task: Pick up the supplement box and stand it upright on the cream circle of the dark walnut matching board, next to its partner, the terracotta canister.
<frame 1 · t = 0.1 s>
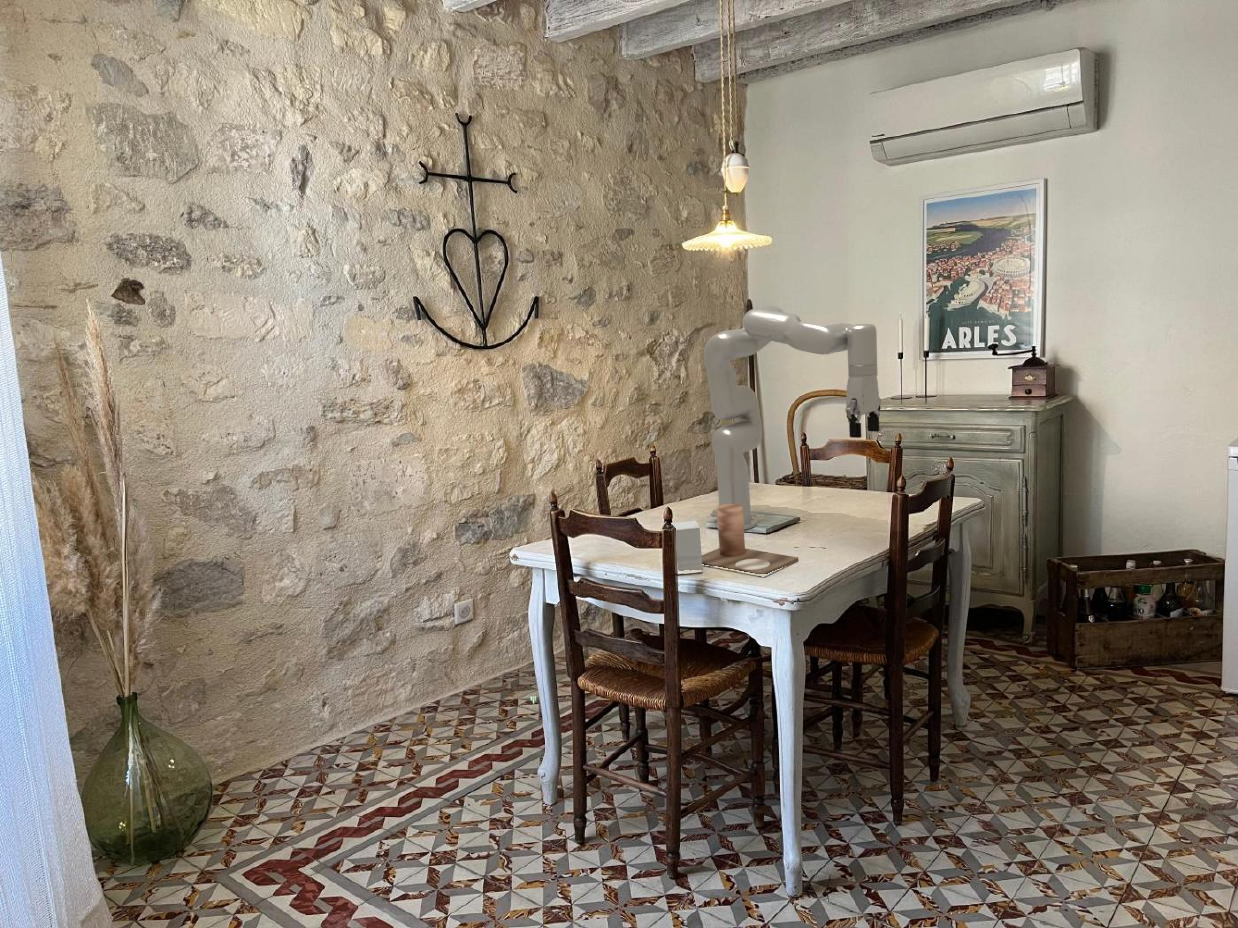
hand: (864, 434, 253), 31 cm above the table, tool pointing down, fingers open, 9 cm apart
supplement box: (687, 571, 250), on the table
matching board: (743, 562, 253), on the table
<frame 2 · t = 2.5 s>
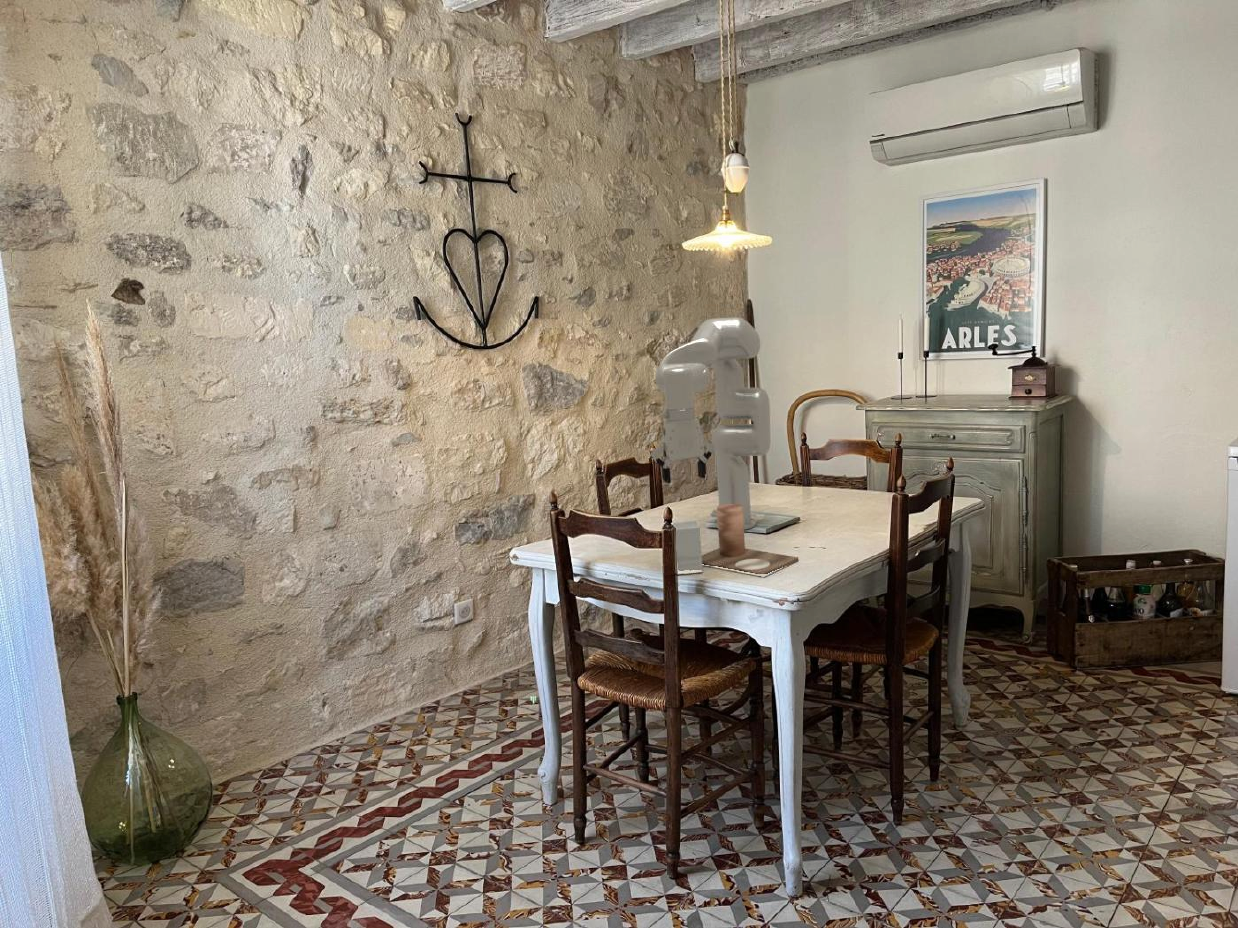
hand: (684, 479, 245), 25 cm above the table, tool pointing down, fingers open, 9 cm apart
nothing on the table moved.
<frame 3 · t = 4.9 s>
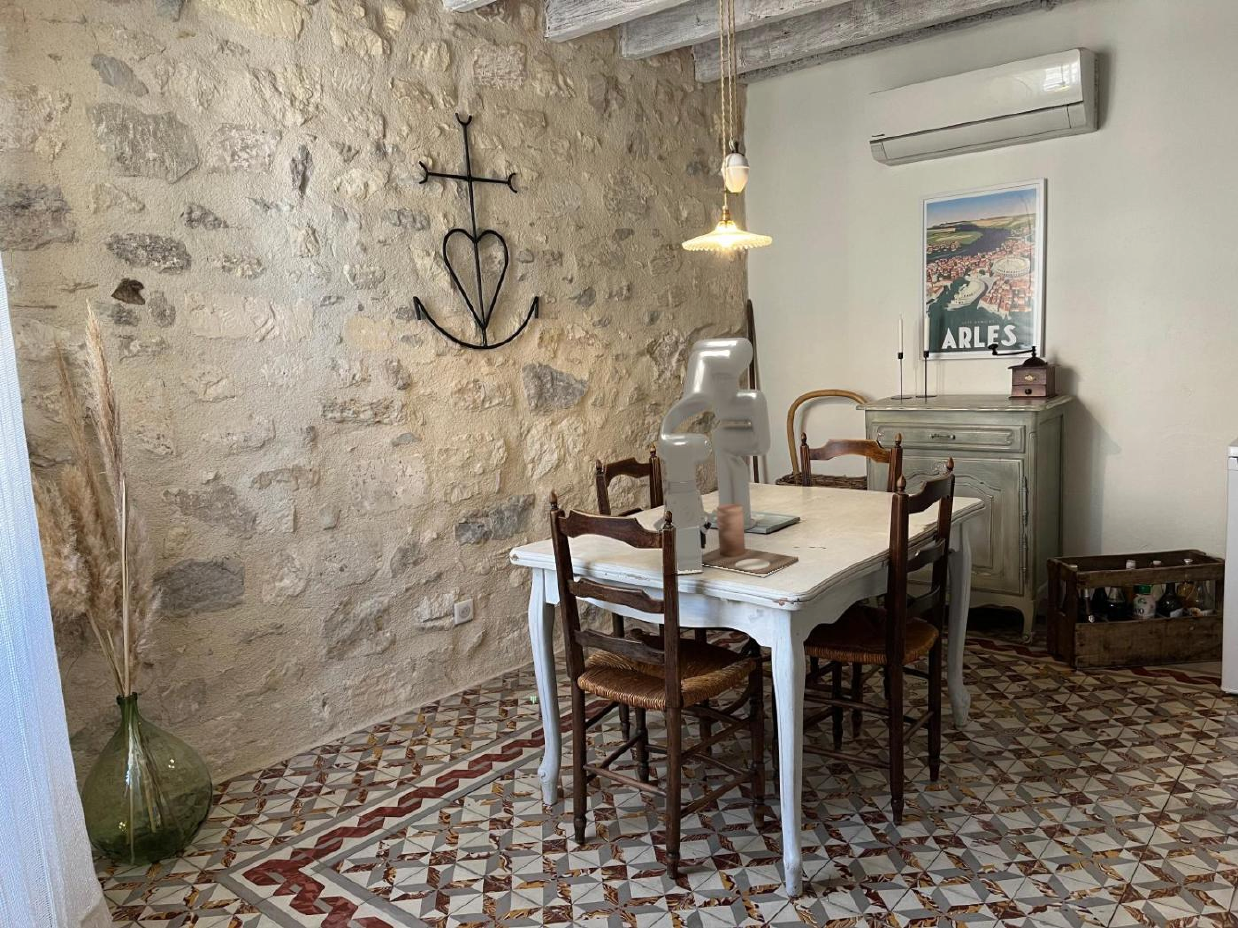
hand: (686, 549, 249), 6 cm above the table, tool pointing down, fingers closed on supplement box, 8 cm apart
supplement box: (687, 571, 250), on the table, touching gripper
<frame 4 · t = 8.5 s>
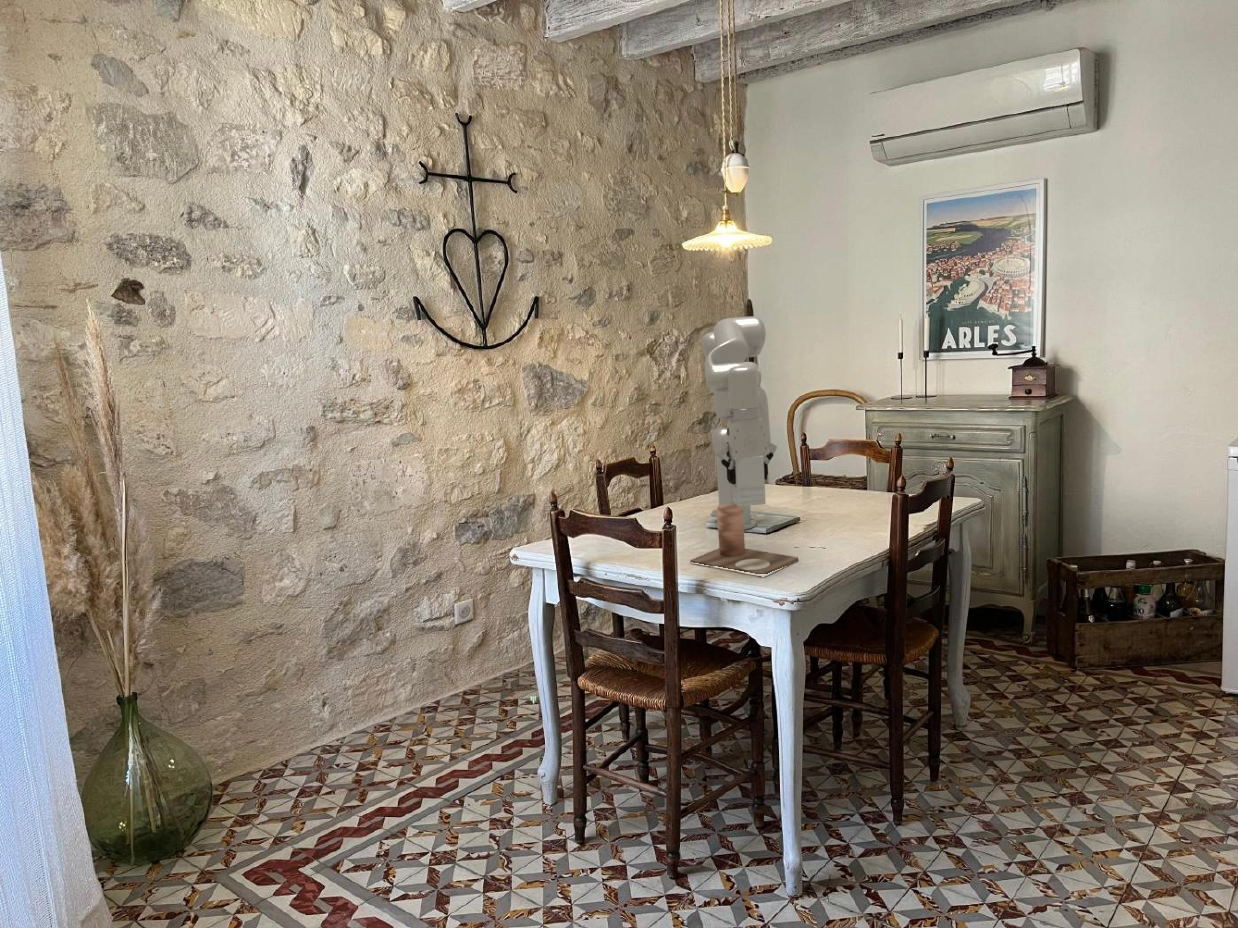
hand: (747, 480, 243), 24 cm above the table, tool pointing down, fingers closed on supplement box, 8 cm apart
supplement box: (748, 504, 244), point 18 cm above the table, touching gripper
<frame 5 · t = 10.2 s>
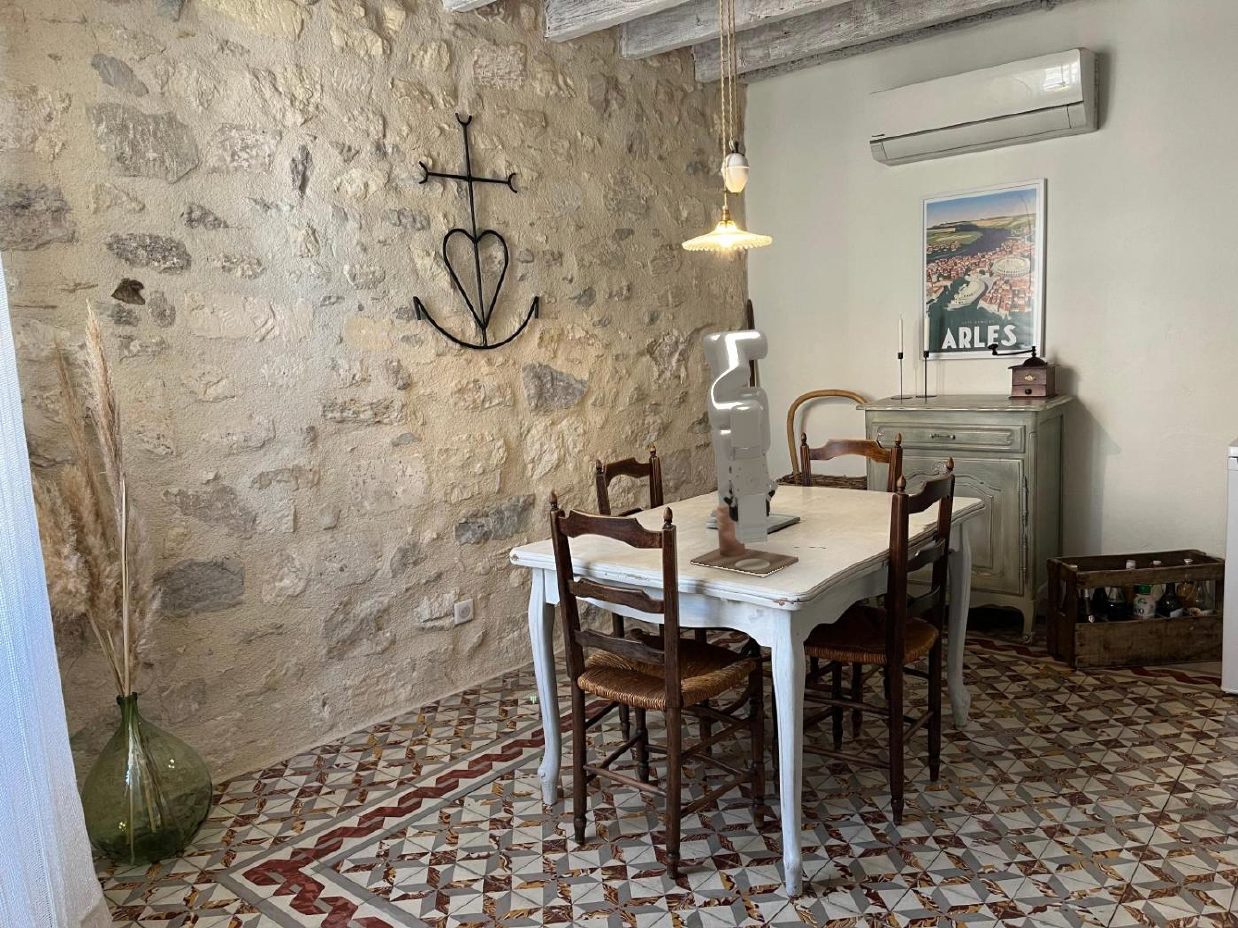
hand: (750, 517, 245), 14 cm above the table, tool pointing down, fingers closed on supplement box, 8 cm apart
supplement box: (751, 540, 245), point 8 cm above the table, touching gripper
when the fingers open (8 cm above the table, at t = 12.0 s): supplement box stays where it is, resting on matching board.
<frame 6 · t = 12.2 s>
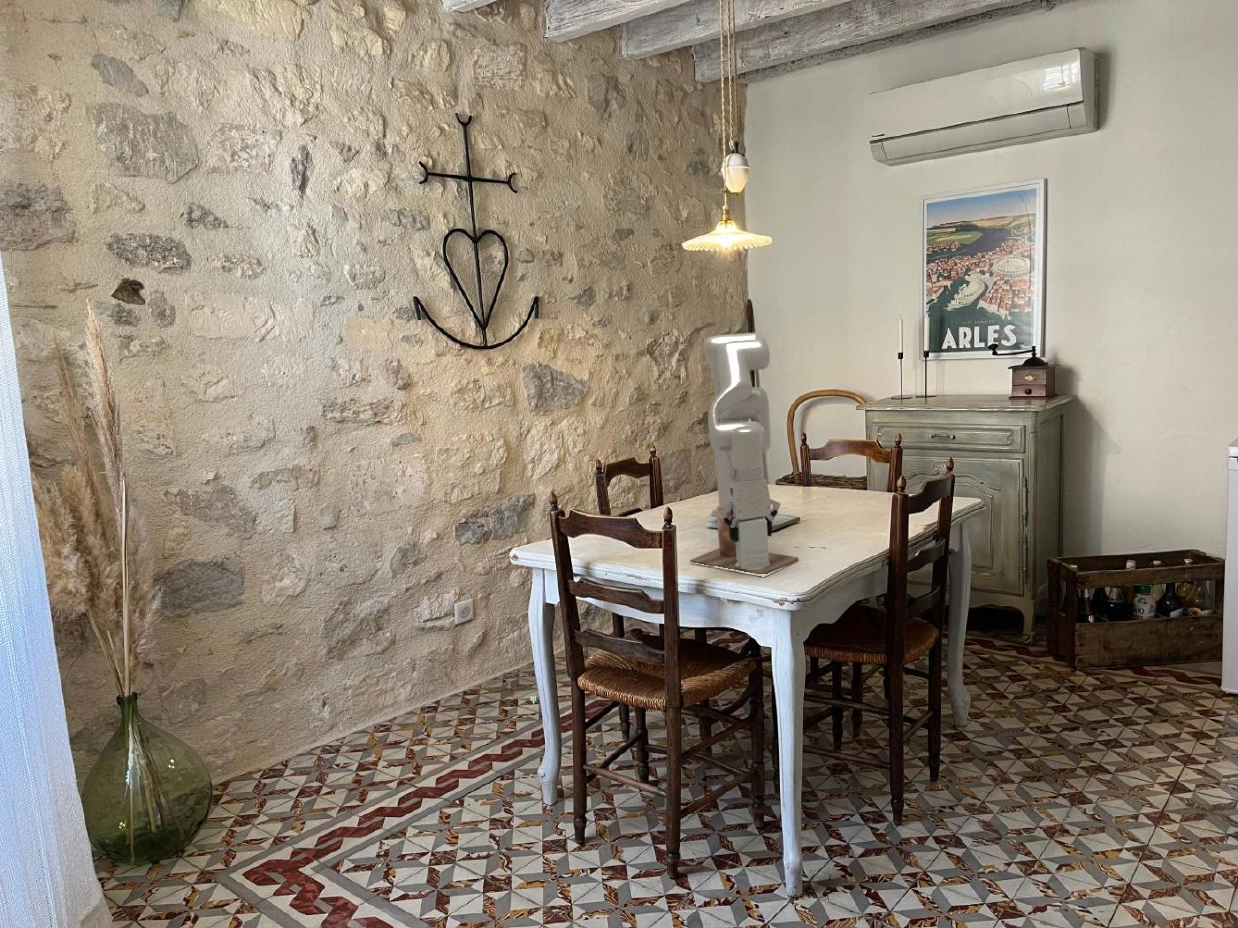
hand: (751, 538, 246), 8 cm above the table, tool pointing down, fingers open, 9 cm apart
supplement box: (752, 564, 247), point 1 cm above the table, touching matching board
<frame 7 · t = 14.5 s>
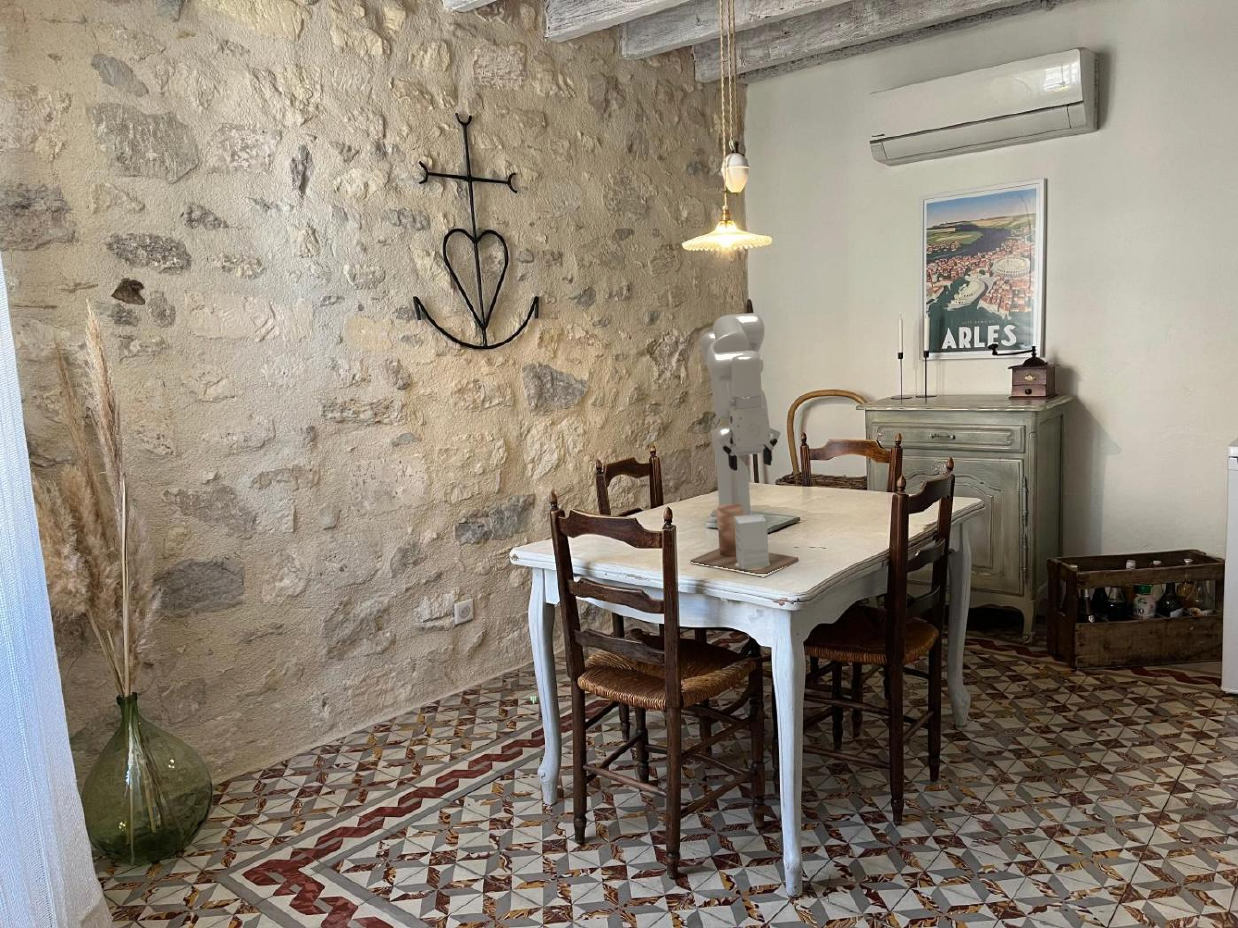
hand: (750, 467, 246), 26 cm above the table, tool pointing down, fingers open, 9 cm apart
nothing on the table moved.
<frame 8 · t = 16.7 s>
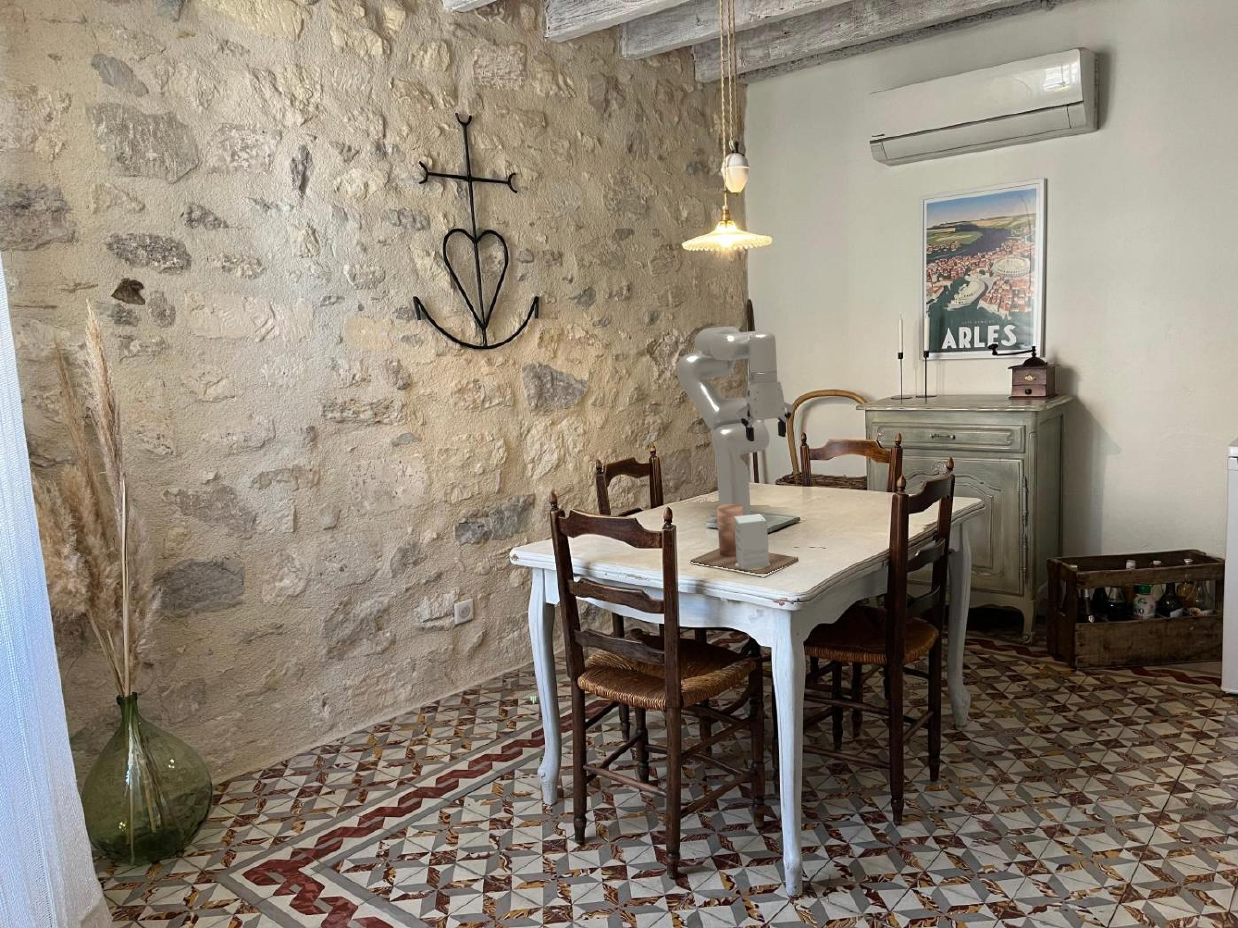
hand: (766, 438, 263), 30 cm above the table, tool pointing down, fingers open, 9 cm apart
nothing on the table moved.
at the end: supplement box 0.2 cm from the target spot on the matching board, point 0.9 cm above the matching board's base; supplement box tilted 0°; the gripper is holding nothing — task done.
